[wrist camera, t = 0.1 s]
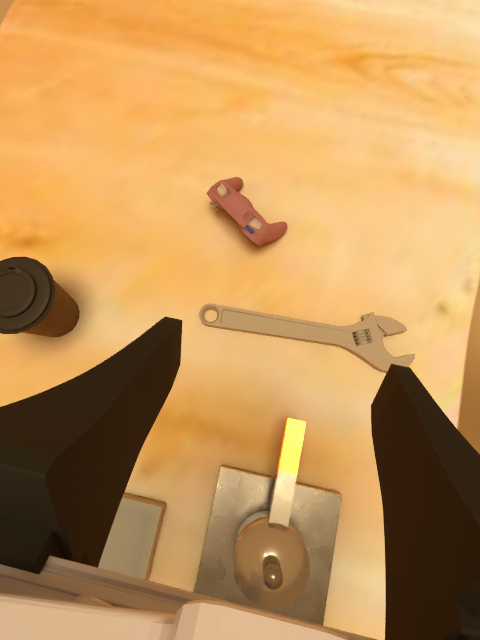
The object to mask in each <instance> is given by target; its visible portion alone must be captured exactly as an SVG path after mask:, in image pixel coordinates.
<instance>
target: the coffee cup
mask: <svg viewBox="0 0 480 640" xmlns="http://www.w3.org/2000/svg"><path fill="white" fill-rule="evenodd" d="M78 319H79V309H78V305H77V304H76V302H75V301H74V300H73V299H72V298H71V297H70V296H69V295H68V294H67V293H66V292H65V291H64V290H63V289H62V288H61V287H60V286H59V285H58V284H57V283H56V282H55V281H54V280H53V277H52V275H51V273H50V272H49V270H48V269H47V267H46V266H44V265H43V264H41V263H40V262H39V261H37V260H35V259H31V258H28V257H12V258H9V259H5V260H2V261H0V333H2V334H17V333H20V332H23V333H30V334H37V335H44V336H50V337H59V336H62V335H65V334H67V333H68V332H70V331H71V330H72V329H73V328H74V327H75V325H76V324H77V321H78Z"/></svg>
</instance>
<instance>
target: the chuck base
mask: <svg viewBox="0 0 480 640" xmlns="http://www.w3.org/2000/svg"><path fill="white" fill-rule="evenodd" d="M274 482H275V477H272V476H267V475H263V474H259V473H255V472H250V471H246V470H242V469H237V468H233V467H229V466H225V465H222V466H221V469H220V474H219V479H218V483H217V488H216V493H215V497H214V502H213V507H212V511H211V516H210V521H209V525H208V530H207V535H206V539H205V544H204V549H203V553H202V558H201V563H200V567H199V572H198V577H197V581H196V586H195V591H194V593H197V594H201V595H205V596H209V597H213V598H217V599H221V600H225V601H229V602H232V603H236V604H240V605H244V606H248V607H252V608H256V609H260V610H264V611H267V612H271V613H275V614H279V615H283V616H287V617H291V618H295V619H298V620H302V621H306V622H310V623H314V624H318V625H322V626H323V621H324V614H325V607H326V600H327V594H328V587H329V580H330V573H331V566H332V559H333V553H334V546H335V539H336V532H337V525H338V519H339V512H340V505H341V498H342V495H341V494H340V493H339V492H336V491H332V490H327V489H323V488H319V487H315V486H310V485H306V484H302V483H297V482H296V484H295V489H294V495H293V501H292V507H291V513H290V518H289V519H291V520H292V521H293V523H294V524H295V525H296V527H297V528H298V530H299V532H300V534H301V537H302V539H303V541H304V544H305V546H306V549H307V551H308V555H309V560H310V575H309V579H308V582H307V585H306V587H305V589H304V591H303V592H302V594H301V595H300V596H299V597H298V598H297V599H296V600H295V601H294V602H293V603H291V604H289V605H287V606H285V607H282V608H278V609H267V608H262V607H260V606H257V605H255V604H253V603H252V602H251V601H249V600H248V599H247V598H246V597H245V596H244V595H243V594H242V592H241V591H240V589H239V588H238V585H237V583H236V581H235V578H234V573H233V555H234V546H235V539H236V535H237V532H238V530H239V528H240V526H241V525H242V524H243V522H244V521H245V520H246V519H247V518H249V517H250V516H251V515H253V514H255V513H257V512H261V511H269V509H270V503H271V498H272V492H273V487H274Z"/></svg>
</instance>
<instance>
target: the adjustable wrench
mask: <svg viewBox="0 0 480 640" xmlns="http://www.w3.org/2000/svg"><path fill="white" fill-rule="evenodd" d="M208 309H214V310H215V311H216V312H217V314H218V315H217V319H216V320H215V321H214V322H207V321H206V320H205V319H204V313H205V311H206V310H208ZM199 317H200V320H201V321H202V323H203V324H205V325H206V326H209V327H216V328H222V329H229V330H235V331H242V332H248V333H255V334H261V335H268V336H274V337H281V338H288V339H294V340H301V341H307V342H314V343H320V344H327V345H333V346H337V347H341V348H343V349H345V350H347V351H349V352H351V353H352V354H354V355H356V356H357V357H359V358H360V359H362V360H363V361H365V362H366V363H367V364H369V365H370V366H372V367H373V368H374V369H376V370H378V371H381V372H387V371H388V369H389V367H390V365H391V364H395V365H400V366H405V367H407V366H409V365H410V364H411V363H412V361H413V360H414V359H415V354H412V355H407V356H403V357H399V358H394V357H393V356H392V355H391V354H390V353H389V352H388V351H387V350H385V348H384V344H383V341H382V339H383V336H384V337H385V336H389V335H394V334H398V333H403V332H405V331H407V329H406V326H404V325H403V324H402V323H400V322H399V321H397V320H395V319H392V318H389V317H384V316H374V312H372V313H370V314H369V315H368V314H367V315H363V316H362V319H363V321H361V322H359V323H357V324H355V325H352V326H344V327H342V326H334V325H328V324H323V323H317V322H311V321H306V320H300V319H295V318H289V317H283V316H278V315H272V314H267V313H261V312H255V311H250V310H244V309H239V308H233V307H228V306H222V305H216V304H206V305H204V306H203V307H202V308H201V309H200V312H199ZM353 333H355V335H354V336H353V335H352V334H353ZM353 337H356V338H355V339H354V338H353ZM367 337H368V338H367ZM367 339H368V340H367ZM355 341H357V342H355ZM355 344H358V345H355Z"/></svg>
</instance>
